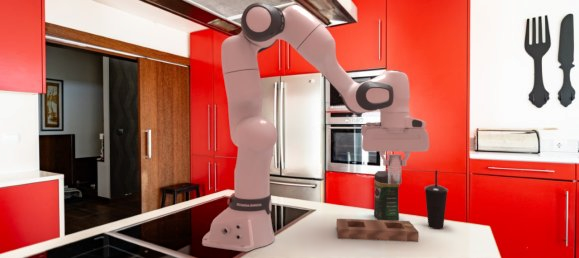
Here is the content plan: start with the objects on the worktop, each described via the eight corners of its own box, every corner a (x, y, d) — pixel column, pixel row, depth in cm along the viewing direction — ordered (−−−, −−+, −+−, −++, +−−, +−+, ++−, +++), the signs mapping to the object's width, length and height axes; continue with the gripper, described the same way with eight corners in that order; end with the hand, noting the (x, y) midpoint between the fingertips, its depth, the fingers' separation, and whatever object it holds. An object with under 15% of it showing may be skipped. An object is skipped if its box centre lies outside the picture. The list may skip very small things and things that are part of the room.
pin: (389, 184, 95) (389, 155, 95) (386, 181, 99) (386, 154, 99) (402, 184, 95) (402, 155, 95) (399, 181, 99) (399, 154, 99)
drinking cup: (421, 222, 112) (422, 168, 112) (444, 223, 111) (444, 169, 110) (426, 229, 105) (427, 172, 104) (450, 231, 103) (451, 172, 102)
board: (338, 241, 94) (338, 228, 94) (336, 230, 104) (336, 217, 104) (418, 244, 92) (418, 230, 92) (409, 232, 102) (409, 220, 102)
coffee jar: (402, 224, 110) (402, 173, 109) (381, 225, 109) (381, 174, 108) (390, 216, 120) (390, 169, 119) (371, 217, 119) (371, 169, 118)
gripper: (362, 122, 94) (362, 166, 95) (431, 122, 92) (431, 167, 93) (360, 122, 101) (360, 163, 101) (424, 121, 98) (424, 164, 99)
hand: (394, 165), depth 97 cm, fingers closed on pin, 4 cm apart
